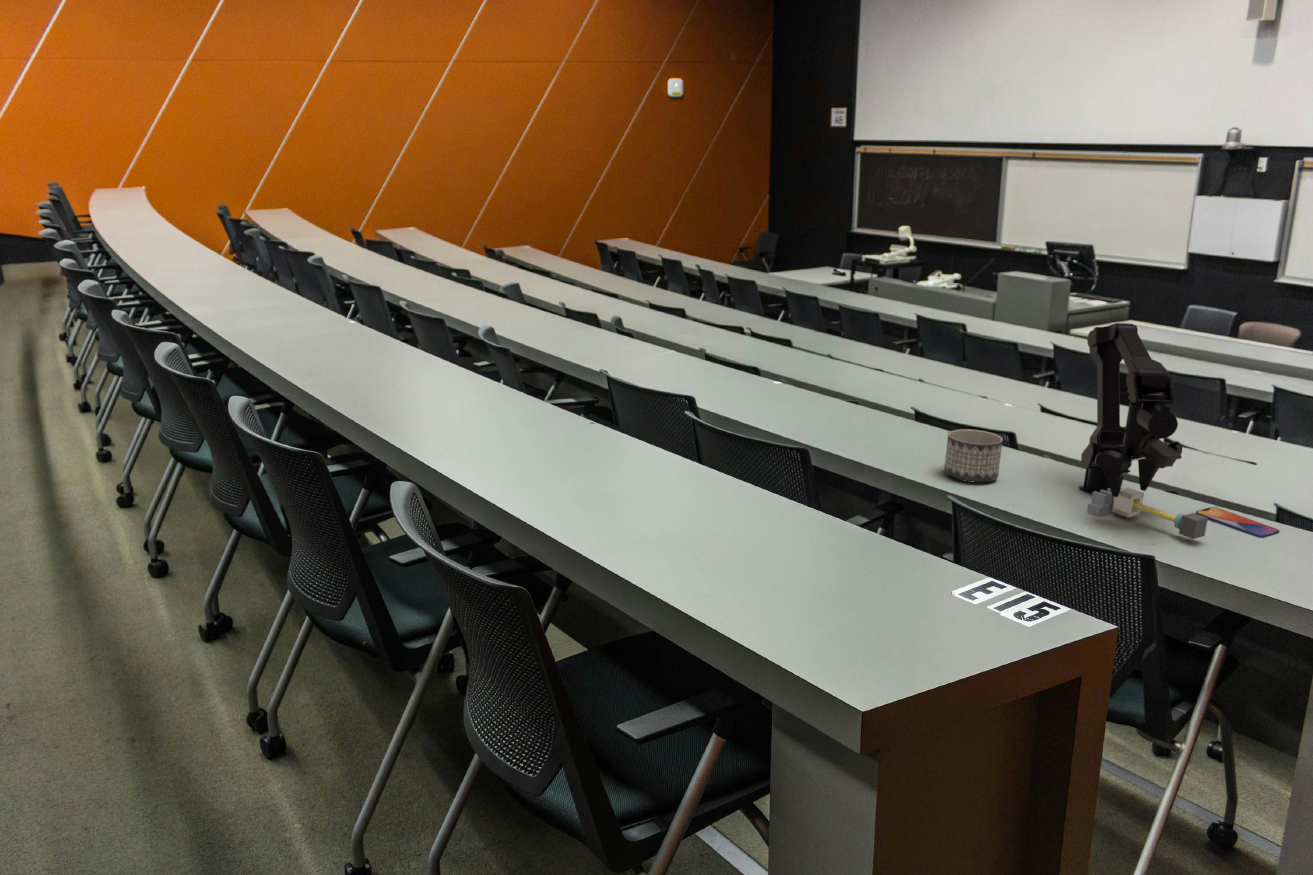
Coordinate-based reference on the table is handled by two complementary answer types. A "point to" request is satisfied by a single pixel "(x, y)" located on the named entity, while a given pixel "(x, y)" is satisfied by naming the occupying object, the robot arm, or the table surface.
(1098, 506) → the comb
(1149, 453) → the robot arm
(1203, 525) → the dark grey cube
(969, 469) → the planter
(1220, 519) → the smartphone
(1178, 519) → the teal puck
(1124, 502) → the sleeve
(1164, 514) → the rod
